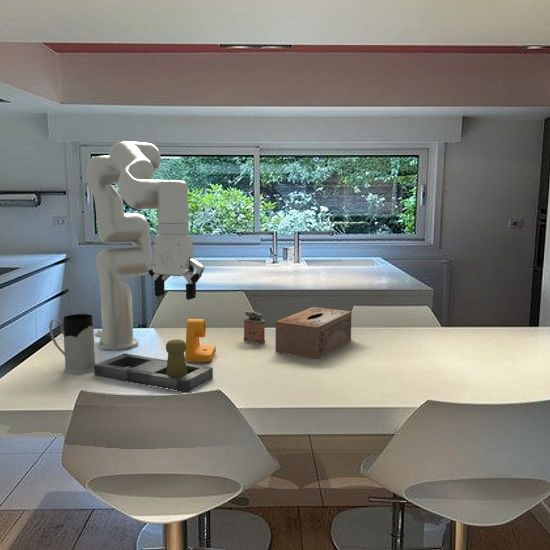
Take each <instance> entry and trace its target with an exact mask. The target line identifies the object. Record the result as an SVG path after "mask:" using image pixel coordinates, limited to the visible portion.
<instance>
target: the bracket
mask: <svg viewBox="0 0 550 550" xmlns="http://www.w3.org/2000/svg"><path fill="white" fill-rule="evenodd" d="M186 321H187V322H186V330H185V331H186V334H185V343H186V350H185V352H184V355H185V362H204V363H205V362H206V363H207V362H210V361H213V360H214V359H215V357H216V356H215V355H216V353H217V349H216V348H217V346H216V345H215V344H214V345H213V344H211V345H210V344H200V343H201V342H200V338H205V336H206V331H207V323H206V319H205V318H188V319H187V320H186ZM214 356H215V357H214ZM213 358H214V359H213Z"/></svg>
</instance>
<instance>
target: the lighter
mask: <svg viewBox="0 0 550 550" xmlns="http://www.w3.org/2000/svg"><path fill="white" fill-rule="evenodd" d="M244 315H245V316H248V317H244V318H243V319H242V320H243V342H246V341H248V342H247V343H251V342H254V343H253V344H258V343H263V344H265V343H266V339H265V336H266V335H265V333H266V332H265V326H266V325H265V324H266V319H263V318H262V317H263V316H262V313H259V312H258V311H254V312H253V311H248V310H247V311H245V314H244Z"/></svg>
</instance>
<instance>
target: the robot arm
mask: <svg viewBox="0 0 550 550" xmlns="http://www.w3.org/2000/svg"><path fill="white" fill-rule="evenodd" d="M161 161H162V160H161V154H160V149H158V148H157V146H156V145H154V144H153V143H149V142H140V141H120V142H116V143H114V144H113V145H112V146H111V147H110V148H109V152H108V155H97V156H93V157H91V158H90V159H89V160H88V162H87V164H86V178H87V182H88V183H87V184H88V186H89V188H90V191H91V194H92V196H93V199H94V204H95V205H94V206H95V217H96V226H97V233H98V237H99V239H100V241H101V242H102V243H104V244H130V243H131V244H132V245H133V246H128V247H127V246H125V247H124V246H123V247H110V248H109V247H108V248H105V249H103V250H100V251H98V253H97V254H96V256H95V257H96V258H95V265H96V270H97V276H98V280H99V281H98V282H99V291H100V309H101V310H100V312H101V329H99V330H97V331H96V333H94V338H95V337H96V338H99V341H98V342H97V348H98V349H100V350H105V351H122V350H128V349H132V348H135V347H137V346H138V344H139V340H138V338H134V327H133V325H134V323H133V296H132V295H133V293H132V289H131V288H130V286H129V285H128V284H127V283H126V281H125V280H124V278H130V277H142V276H146V275H150V276H151V279H152V281H153V282H154V296H155V297H161V296H164V295H165V294H166V292H165V290H166V289H165V279H164V277H165V276H172V277H184V279H185V280H186V282H187V283H185V298H186V299H185V300H188V301H189V300H193V299H195V298H196V295H197V283H198V282H199V280H200V279H201V278H202V276H203V273H204V271H205V266H204V265H202V264H201V263H200V262H198V261H196V259H195V255H194V254H195V253H194V246H193V245H194V244H193V240H192V236H191V235H189V234H190V229H189V227H190V225H189V189H188V188H189V187H188V183H187V182H186V181H184V180H180V179H178V180H177V179H169V180H168V179H153V178H154V174H155V173H156V172H157V170H159V167H160V165H161ZM112 184H113V185H112ZM115 184H116V185H118V189H117V188H116V187H115V186H114V185H115ZM124 202H125V203H126V204H127V205H128V206H129V207H131V208H132V209H135V210H157V223H158V224H156V225H155V230H156V231H158V234H156V235H155V239H154V243H153V252H152V242H151V232H150V231H151V230H150V226H149V222H148V220H147V218H146V217H145V215H143V214H142V213H137V212H136V213H135V212H131V213H130V212H129V213H128V212H127V213H126V212H125V209H124ZM195 270H196V271H195Z"/></svg>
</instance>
